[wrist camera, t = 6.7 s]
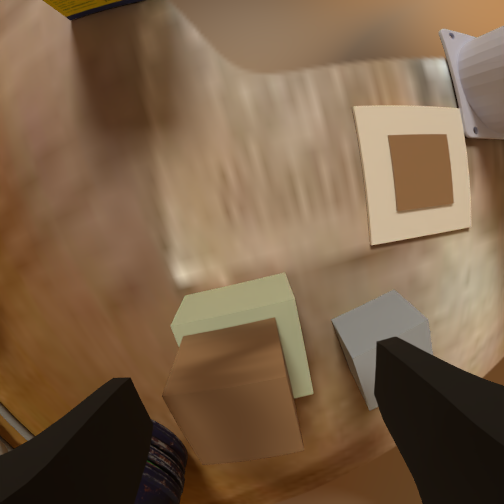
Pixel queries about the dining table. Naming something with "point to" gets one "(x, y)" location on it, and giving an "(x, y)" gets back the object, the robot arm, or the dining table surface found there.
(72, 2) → the supplement box
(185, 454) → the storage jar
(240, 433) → the walnut block
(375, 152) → the card
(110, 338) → the dining table surface
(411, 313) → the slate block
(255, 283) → the base block
